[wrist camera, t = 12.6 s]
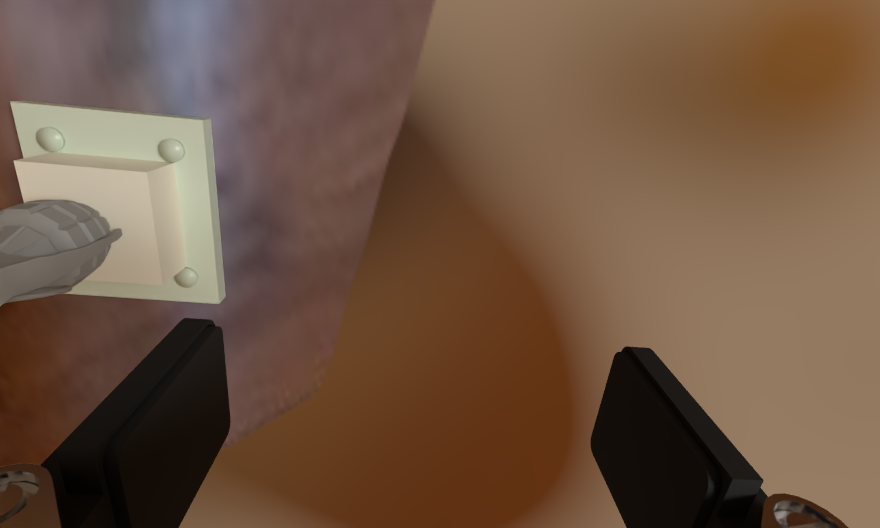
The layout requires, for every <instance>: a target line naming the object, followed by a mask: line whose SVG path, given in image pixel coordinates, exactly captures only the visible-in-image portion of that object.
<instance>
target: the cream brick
mask: <svg viewBox="0 0 880 528" xmlns="http://www.w3.org/2000/svg"><path fill="white" fill-rule="evenodd" d="M14 165H15V169H16V173H17V177H18V181H19V185H20V189H21V193H22V197H23V201H24V203H25V202H28V201H34V200H47V199H48V200H70V201H75V202H76V203H82V204H85V205H88V206H90V207H91V208H93V209H95V210H96V211H98V212H99V213H100V216H101V217H104V218H106V220H107V221H108V223H109V225H110V229H109V230H110V231H111V232H112V231H113V230H115V229H121V230H122V234H123V235H122V236H121V237H120V238H119V239H118V240H117V241H115V242H113V243H111V248H110V250H109V252H108V255H107V256H106V258H105V260H104V262H103V263H102V265H101V266H100V267H98V268H97V269H96V270H95V271H94V272H93V273H91V274H90V275H89V276H88V277H86V278H85V279H84V280H89V281H104V282H118V283H132V284H147V285H161V286H163V285H164V284H165V283H167V282H168V281H169V280H170V279H172V278H173V277H174V276H175V275H176V274H178V273H179V272H180V271H181V270H183V269H184V268H185V267H186V258H185V249H184V241H183V232H182V223H181V215H180V206H179V198H178V189H177V180H176V172H175V163H172V162H161V161H150V160H139V159H128V158H117V157H106V156H94V155H83V154H72V153H61V152H53V153H48V154H43V155H38V156H34V157H29V158H24V159H19V160H14Z"/></svg>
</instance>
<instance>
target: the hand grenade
mask: <svg viewBox="0 0 880 528" xmlns="http://www.w3.org/2000/svg"><path fill="white" fill-rule="evenodd" d="M109 229H110V225H109V223H108V221H107V220H106V218H104V217H101V216H100V213H99V212H98V211H96V210H95V209H93V208H91V207H90V206H88V205H85V204H82V203H76V202H75V201H70V200H48V199H47V200H34V201H28V202H25V203H24V204H17V205H15V206H11V207H8V208H6V209H4V210H1V211H0V306H1V305H3V304H4V303H9V302H16V301H23V300H30V299H37V298H42V297H48V296H53V295H58V294H62V293H66V292H69V291H71V290H72V287H74V286H76V285H77V284H78V283H79V282H81V281H83V280H84V279H85V278H86V277H88V276H89V275H90V274H91V273H93V272H94V271H95V270H96V269H97V268H98V267H100V266H101V265H102V263H103V262H104V260H105V258H106V256H107V255H108V252H109V250H110V248H111V243H113V242H115V241H117V240H118V239H119V238H120V237H121V236H122V235H123V234H122V230H121V229H115V230H113V231H112V232H111V231H110V230H109Z"/></svg>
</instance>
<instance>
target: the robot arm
mask: <svg viewBox="0 0 880 528" xmlns="http://www.w3.org/2000/svg"><path fill="white" fill-rule="evenodd" d="M229 428H230V410H229V398H228V387H227V376H226V365H225V354H224V343H223V332H222V329H221V327H218V326H215V324H214V322H213V321H212V320H207V319H192V318H184V319H183V320H181V321H180V322H179V323H178V324H177V326H176V327H175V328H174V329H173V330H172V331H171V332H170V333H169V334H168V335H167V336H166V337H165V338H164V339H163V340H162V341H161V342H160V343H159V344H158V345H157V346H156V347H155V348H154V349H153V350H152V351H151V352H150V353H149V354H148V355H147V356H146V357H145V358H144V359H143V360H142V361H141V362H140V364H139V365H138V366H137V367H136V368H135V369H134V370H133V371H132V372H131V373H130V374H129V375H128V376H127V377H126V378H125V379H124V380H123V381H122V382H121V383H120V384H119V385H118V386H117V387H116V388H115V389H114V390H113V391H112V392H111V393H110V394H109V395H108V396H107V397H106V398H105V399H104V400H103V402H102V403H101V404H100V405H99V406H98V407H97V408H96V409H95V410H94V411H93V412H92V413H91V414H90V415H89V416H88V417H87V418H86V419H85V420H84V421H83V422H82V423H81V424H80V425H79V426H78V427H77V428H76V429H75V430H74V431H73V432H72V433H71V434H70V435H69V436H68V437H67V438H66V440H65V441H64V442H63V443H62V444H61V445H60V446H59V447H58V448H57V449H56V450H55V451H54V452H53V453H52V454H51V455H50V456H49V457H48V458H47V459H46V460H45V461H44V462H43V463H42V464H41V465H37V464H28V463H22V464H13V465H6V466H2V467H0V528H179V526H180V523H181V522H182V520H183V518H184V516H185V514H186V512H187V510H188V509H189V507H190V505H191V503H192V501H193V499H194V498H195V496H196V494H197V492H198V490H199V488H200V486H201V484H202V482H203V480H204V479H205V477H206V475H207V473H208V471H209V469H210V467H211V466H212V464H213V462H214V460H215V458H216V456H217V454H218V452H219V451H220V449H221V447H222V445H223V443H224V441H225V439H226V437H227V435H228V432H229ZM591 450H592V453H593V456H594V458H595V460H596V462H597V464H598V466H599V469H600V471H601V473H602V475H603V477H604V480H605V481H606V484H607V486H608V488H609V490H610V493H611V494H612V497H613V499H614V501H615V503H616V506H617V508H618V510H619V512H620V514H621V516H622V519H623V521H624V523H625V525H626V527H627V528H848V527H847V526H846V525H845V524H844V523H843V522H842V521H841V520H840V519H838V518H837V517H835V516H834V515H833V514H831V513H830V512H829V511H827V510H825V509H824V508H822V507H820V506H818V505H817V504H815V503H813V502H811V501H808V500H806V499H803V498H800V497H798V496H794V495H789V494H773V495H771V496H769V497H768V496H767V495H766V494H765V493H764V492H763V490H762V489H761V488H760V487H761V485H762V483H763V479H762V478H761V477H760V476H759V474H758V473H757V472H756V471H755V470H754V469H753V467H752V466H751V465H750V464H749V463H748V462H747V461H746V459H745V458H744V457H743V456H742V455H741V453H740V452H739V451H738V450H737V449H736V448H735V446H734V445H733V444H732V443H731V442H730V441H729V439H728V438H727V437H726V436H725V435H724V433H723V432H722V431H721V430H720V429H719V428H718V426H717V425H716V424H715V423H714V422H713V421H712V419H711V418H710V417H709V416H708V415H707V414H706V412H705V411H704V410H703V409H702V408H701V406H700V405H699V404H698V403H697V402H696V401H695V399H694V398H693V397H692V396H691V395H690V394H689V392H688V391H687V390H686V389H685V388H684V387H683V386H682V384H681V383H680V382H679V381H678V380H677V378H676V377H675V376H674V375H673V374H672V373H671V372H670V370H669V369H668V368H667V367H666V366H665V364H664V363H663V362H662V361H661V360H660V359H659V357H658V356H657V355H656V354H655V353H654V351H653V350H651V349H650V348H638V347H624V348H623V350H622V351H621V352H617V353H616V354H615V356H614V359H613V362H612V366H611V369H610V373H609V376H608V380H607V383H606V387H605V391H604V394H603V398H602V401H601V404H600V408H599V412H598V415H597V419H596V422H595V425H594V429H593V432H592V436H591Z"/></svg>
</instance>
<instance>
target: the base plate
mask: <svg viewBox="0 0 880 528" xmlns="http://www.w3.org/2000/svg"><path fill="white" fill-rule="evenodd" d="M10 103H11V108H12V112H13V116H14V120H15V124H16V129H17V133H18V137H19V141H20V145H21V150H22V154H23V158H29V157H34V156H38V155H43V154H48V153H53V152H61V153H72V154H83V155H94V156H106V157H117V158H128V159H139V160H150V161H161V162H172V163H175V172H176V180H177V189H178V198H179V206H180V215H181V223H182V232H183V241H184V249H185V258H186V267H185V268H184V269H183V270H181V271H180V272H179V273H178V274H176V275H175V276H174V277H173V278H172V279H170V280H169V281H168V282H167V283H165V284H164V285H163V286H161V285H147V284H132V283H118V282H104V281H89V280H83V281H81V282H79V283H78V284H77V285H76V286H74V287H72V290H71V291H69V292H66V293H64V294H79V295H94V296H109V297H124V298H139V299H153V300H168V301H183V302H198V303H213V304H220V302H221V301H222V300H223V299H224V298H225V297H226V294H225V282H224V270H223V259H222V247H221V235H220V223H219V211H218V199H217V187H216V175H215V163H214V151H213V139H212V127H211V119H209V118H199V117H188V116H178V115H168V114H158V113H147V112H137V111H127V110H117V109H106V108H96V107H86V106H76V105H65V104H55V103H45V102H35V101H12V102H10Z"/></svg>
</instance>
